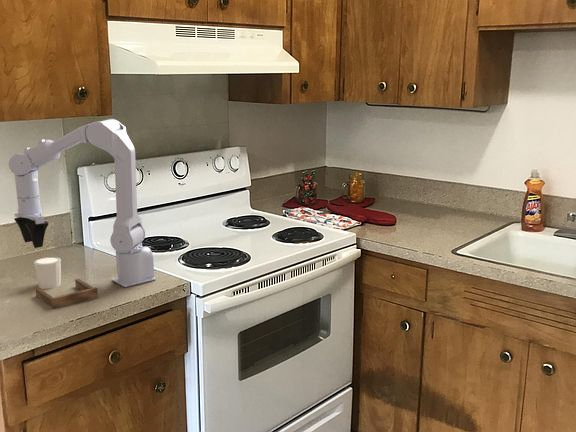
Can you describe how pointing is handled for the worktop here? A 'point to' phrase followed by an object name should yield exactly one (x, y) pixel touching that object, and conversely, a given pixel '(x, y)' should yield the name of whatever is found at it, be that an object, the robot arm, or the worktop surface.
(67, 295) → the walnut bay
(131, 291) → the worktop surface
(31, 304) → the worktop surface
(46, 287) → the white cylinder
